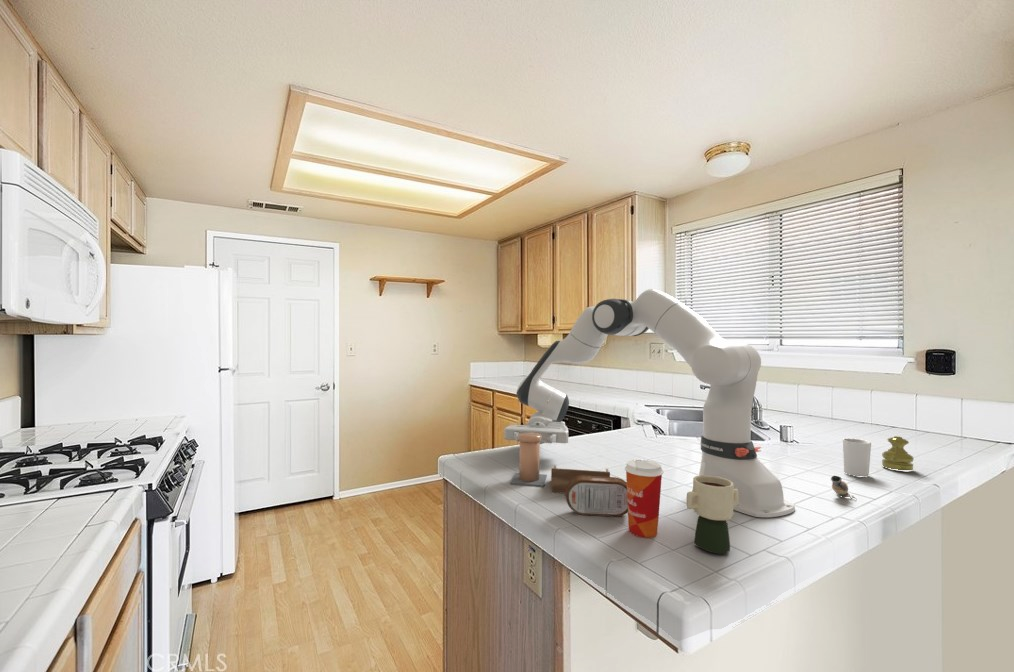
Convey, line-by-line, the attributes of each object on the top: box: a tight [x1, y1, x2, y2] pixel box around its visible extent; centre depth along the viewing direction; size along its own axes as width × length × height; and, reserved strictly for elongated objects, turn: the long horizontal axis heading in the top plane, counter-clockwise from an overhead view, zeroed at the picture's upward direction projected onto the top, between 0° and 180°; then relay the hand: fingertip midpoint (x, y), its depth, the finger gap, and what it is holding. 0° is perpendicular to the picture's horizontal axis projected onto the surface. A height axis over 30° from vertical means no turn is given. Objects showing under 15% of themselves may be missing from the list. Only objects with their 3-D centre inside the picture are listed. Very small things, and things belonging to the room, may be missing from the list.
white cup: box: [842, 437, 872, 476], centre depth 134 cm, size 7×7×10 cm
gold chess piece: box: [881, 435, 915, 471], centre depth 139 cm, size 7×7×10 cm
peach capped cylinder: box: [518, 433, 541, 482], centre depth 125 cm, size 6×6×12 cm
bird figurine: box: [830, 475, 858, 500], centre depth 114 cm, size 5×5×6 cm
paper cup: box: [624, 459, 664, 539], centre depth 93 cm, size 8×8×14 cm
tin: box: [564, 475, 628, 518], centre depth 102 cm, size 15×3×8 cm, turn 84°
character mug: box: [686, 475, 739, 554], centre depth 86 cm, size 11×7×13 cm, turn 102°
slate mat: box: [509, 472, 548, 488], centre depth 125 cm, size 9×9×1 cm
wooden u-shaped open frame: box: [550, 465, 611, 494], centre depth 119 cm, size 10×15×6 cm
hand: (533, 439), depth 136 cm, fingers open, 8 cm apart
